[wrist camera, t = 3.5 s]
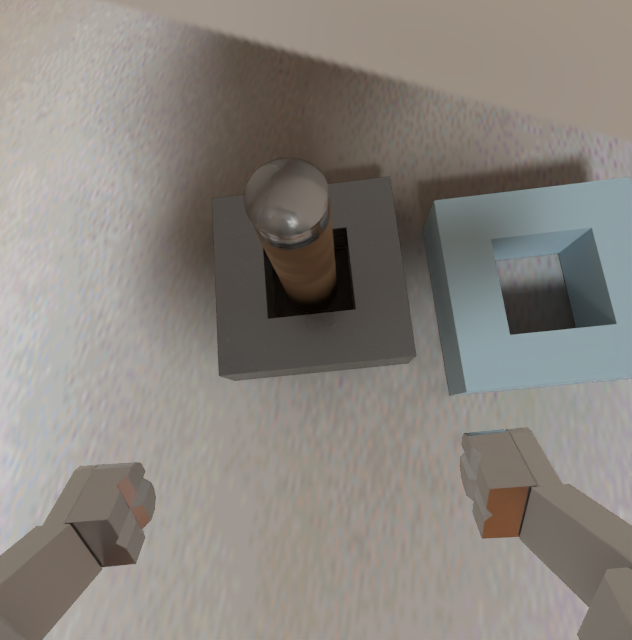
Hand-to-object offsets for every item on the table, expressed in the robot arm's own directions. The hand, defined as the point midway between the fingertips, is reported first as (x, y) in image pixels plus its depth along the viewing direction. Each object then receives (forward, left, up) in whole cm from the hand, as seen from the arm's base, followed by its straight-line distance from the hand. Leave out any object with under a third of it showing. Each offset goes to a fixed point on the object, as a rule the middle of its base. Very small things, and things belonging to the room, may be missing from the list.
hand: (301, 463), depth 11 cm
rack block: (+12, +7, -13) cm, 19 cm away
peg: (0, +9, -13) cm, 16 cm away
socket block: (0, +9, -13) cm, 16 cm away
